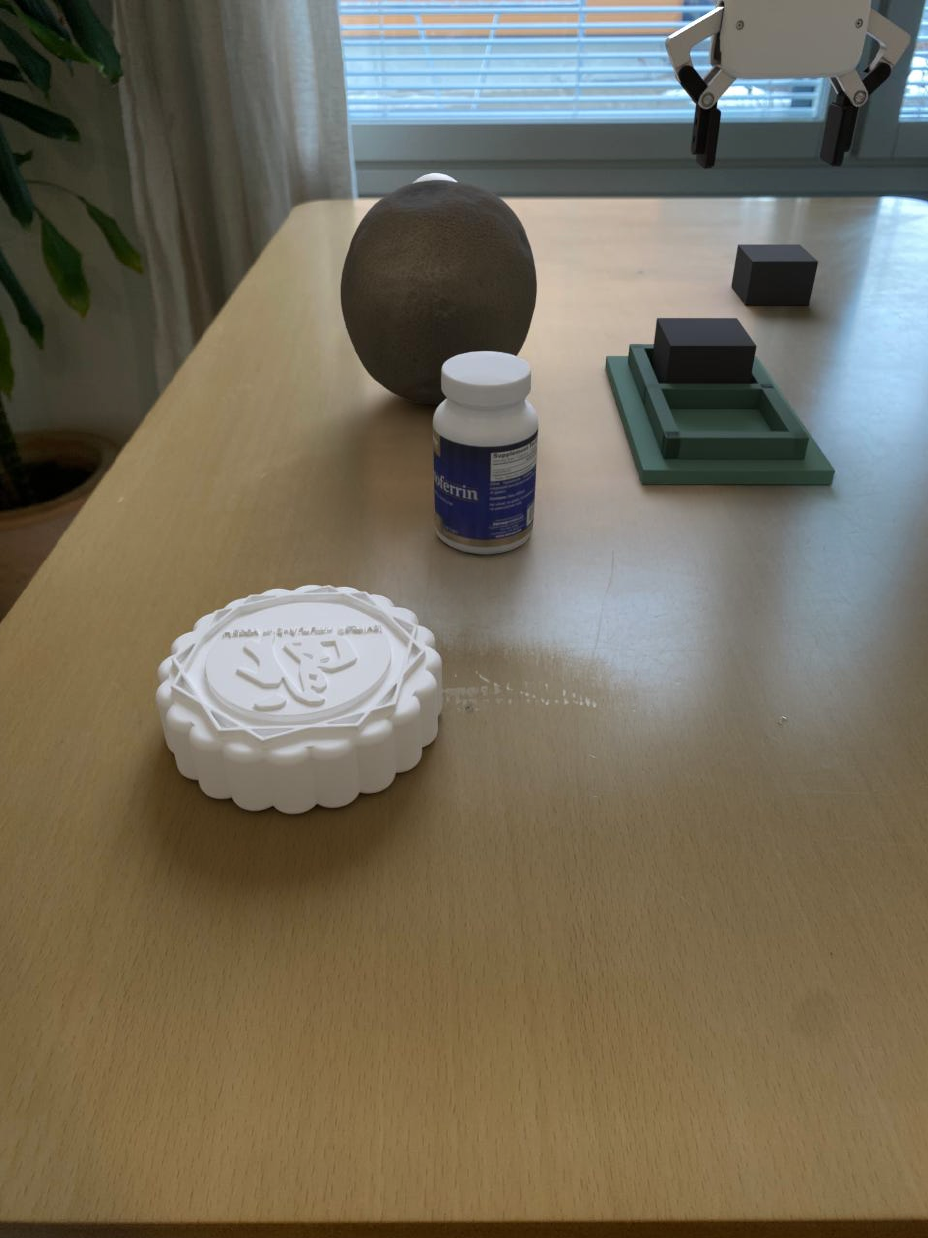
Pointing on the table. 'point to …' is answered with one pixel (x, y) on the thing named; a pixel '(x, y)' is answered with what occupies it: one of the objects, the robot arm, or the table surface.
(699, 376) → the black square block
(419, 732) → the mooncake
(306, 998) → the table surface
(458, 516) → the pill bottle
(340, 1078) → the table surface
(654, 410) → the base mat
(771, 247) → the pad
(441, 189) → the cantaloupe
